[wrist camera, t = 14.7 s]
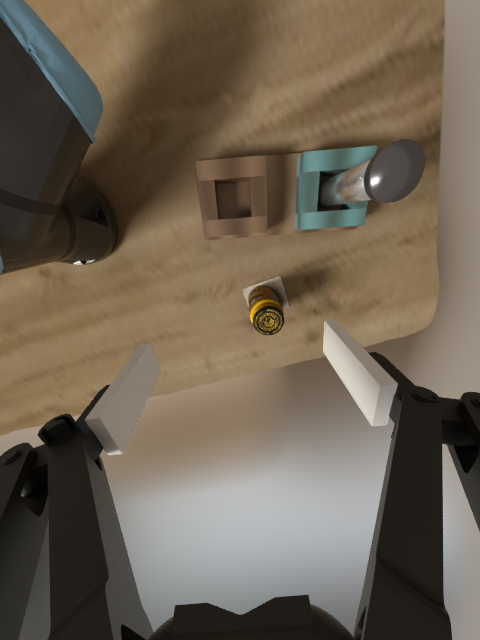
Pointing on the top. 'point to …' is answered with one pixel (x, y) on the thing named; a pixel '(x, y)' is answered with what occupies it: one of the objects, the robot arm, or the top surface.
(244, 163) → the dock station
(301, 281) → the top surface
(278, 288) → the condiment
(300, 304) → the top surface
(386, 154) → the steel pin
